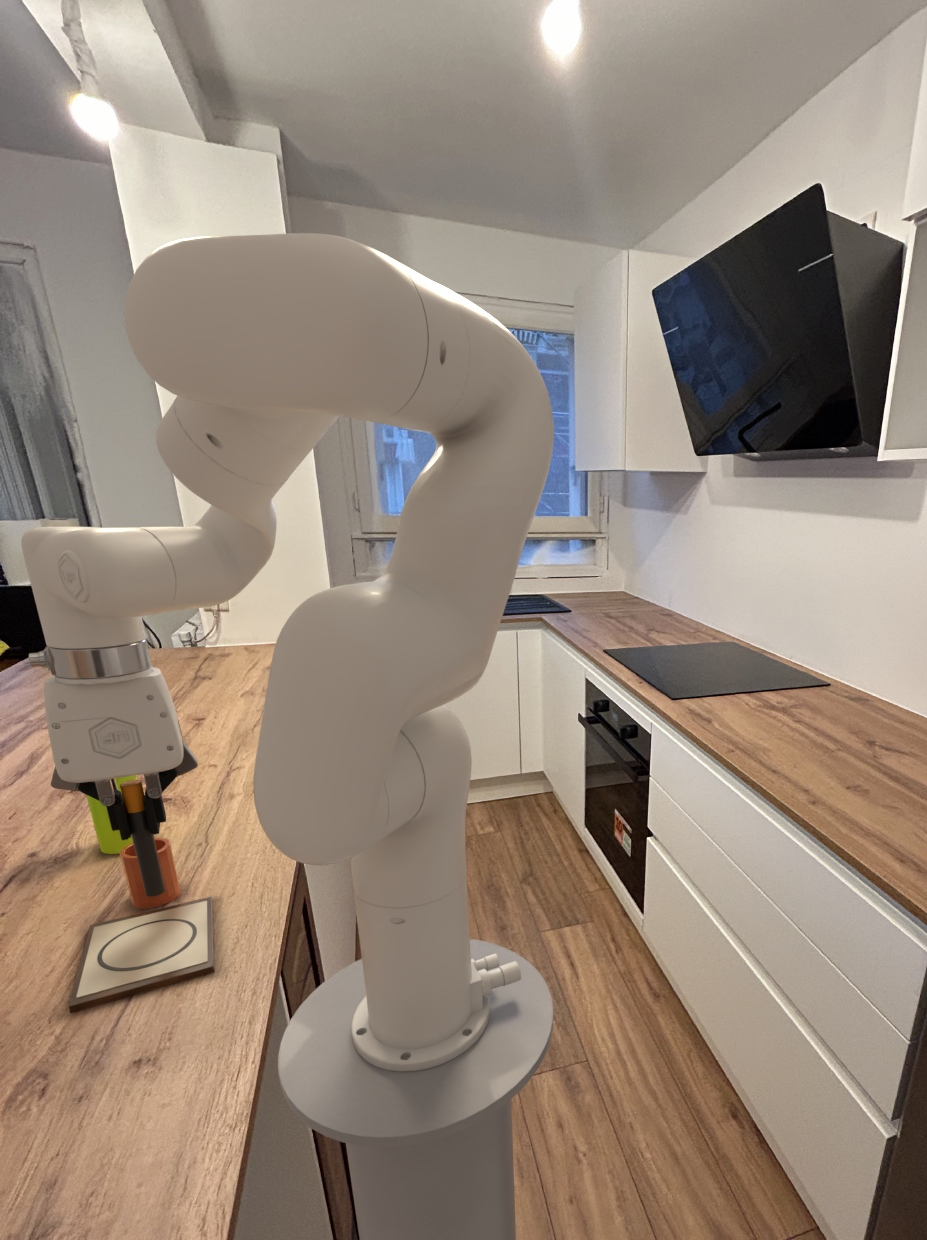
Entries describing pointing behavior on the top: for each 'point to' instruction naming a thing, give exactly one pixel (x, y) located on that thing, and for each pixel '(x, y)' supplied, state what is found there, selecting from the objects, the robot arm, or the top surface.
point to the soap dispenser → (108, 824)
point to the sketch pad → (144, 953)
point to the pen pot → (135, 877)
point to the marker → (142, 838)
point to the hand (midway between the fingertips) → (141, 830)
